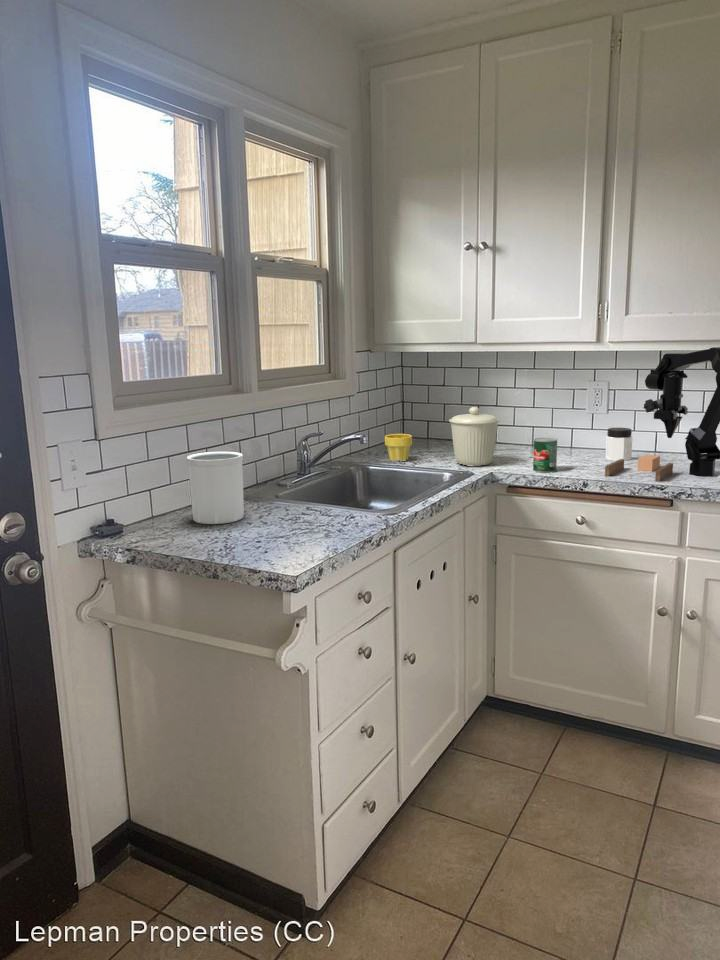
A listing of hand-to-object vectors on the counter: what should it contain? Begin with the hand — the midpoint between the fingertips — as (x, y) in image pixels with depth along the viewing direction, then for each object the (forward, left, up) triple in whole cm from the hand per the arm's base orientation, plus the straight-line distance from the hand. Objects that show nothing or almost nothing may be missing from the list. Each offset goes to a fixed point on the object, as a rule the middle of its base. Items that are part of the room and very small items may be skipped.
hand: (669, 437), depth 244 cm
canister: (+62, +22, -11) cm, 67 cm away
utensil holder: (+84, +126, -11) cm, 152 cm away
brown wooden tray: (+4, +18, -11) cm, 22 cm away
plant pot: (+90, +30, -11) cm, 96 cm away
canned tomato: (+35, +21, -11) cm, 42 cm away
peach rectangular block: (+4, +7, -10) cm, 13 cm away
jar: (+19, -7, -11) cm, 23 cm away
